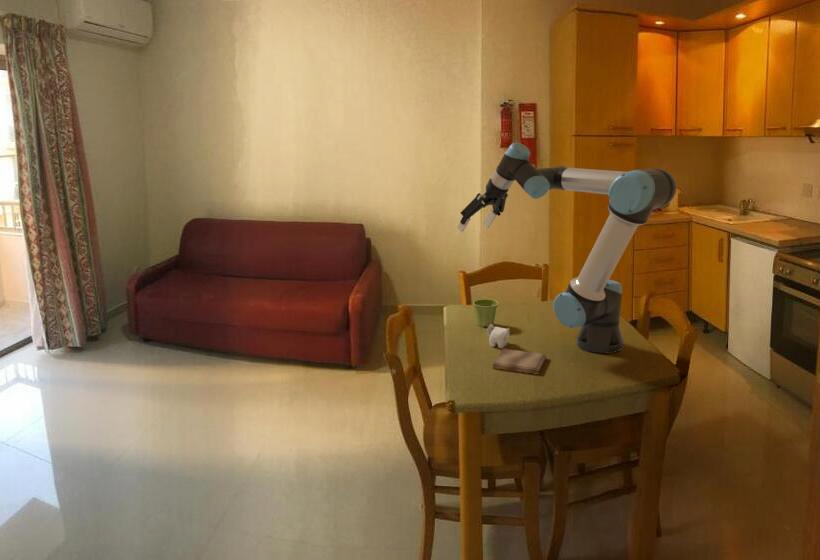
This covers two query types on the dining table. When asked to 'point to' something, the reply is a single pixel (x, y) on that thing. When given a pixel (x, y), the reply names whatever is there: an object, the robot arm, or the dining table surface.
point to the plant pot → (485, 311)
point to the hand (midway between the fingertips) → (473, 227)
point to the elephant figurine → (498, 336)
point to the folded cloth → (519, 361)
